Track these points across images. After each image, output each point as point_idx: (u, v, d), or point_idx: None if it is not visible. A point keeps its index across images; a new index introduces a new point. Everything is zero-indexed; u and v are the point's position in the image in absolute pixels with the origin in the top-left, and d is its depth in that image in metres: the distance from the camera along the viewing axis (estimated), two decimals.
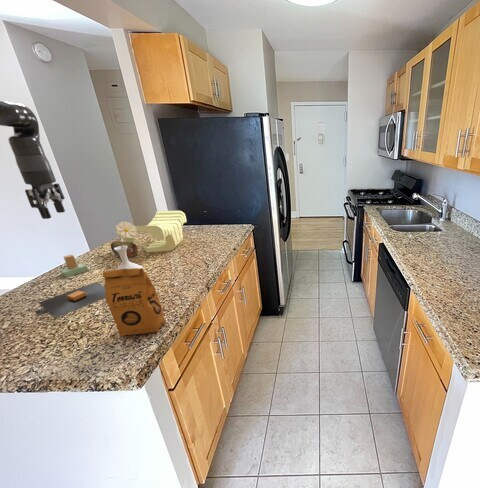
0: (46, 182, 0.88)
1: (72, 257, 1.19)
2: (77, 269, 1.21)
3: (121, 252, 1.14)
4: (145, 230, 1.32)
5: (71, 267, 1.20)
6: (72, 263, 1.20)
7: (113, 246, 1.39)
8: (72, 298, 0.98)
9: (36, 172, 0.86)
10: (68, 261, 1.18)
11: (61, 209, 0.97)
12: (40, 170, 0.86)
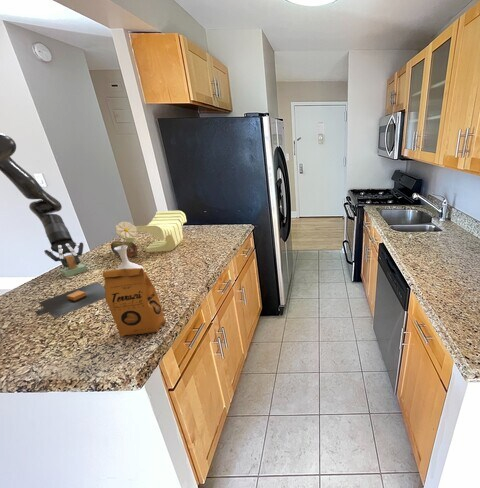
0: None
1: (72, 257, 1.19)
2: (77, 269, 1.21)
3: (121, 252, 1.14)
4: (145, 230, 1.32)
5: (71, 267, 1.20)
6: (72, 263, 1.20)
7: (113, 246, 1.39)
8: (72, 298, 0.98)
9: None
10: (68, 261, 1.18)
11: None
12: None
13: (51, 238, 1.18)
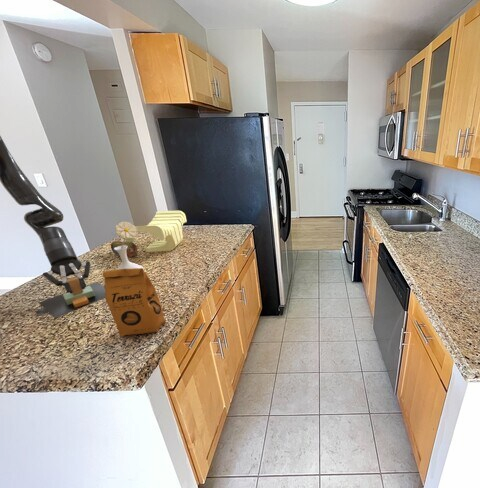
0: None
1: (76, 280, 0.96)
2: (82, 295, 0.98)
3: (121, 252, 1.14)
4: (145, 230, 1.32)
5: (75, 292, 0.97)
6: (76, 287, 0.97)
7: (113, 246, 1.39)
8: None
9: None
10: (71, 285, 0.96)
11: (71, 290, 0.96)
12: None
13: (51, 257, 0.95)
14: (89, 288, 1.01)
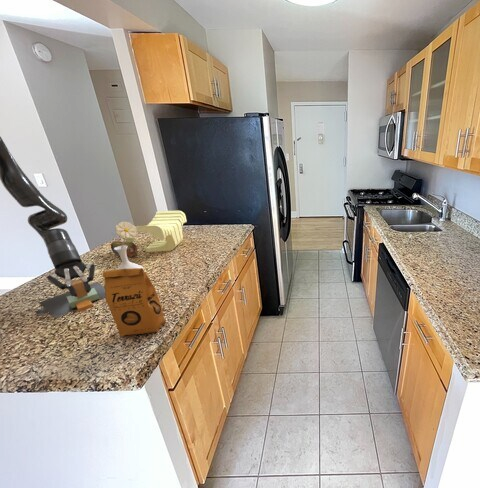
0: None
1: (81, 284, 0.94)
2: (86, 298, 0.96)
3: (121, 252, 1.14)
4: (145, 230, 1.32)
5: (79, 295, 0.95)
6: (81, 291, 0.95)
7: (113, 246, 1.39)
8: None
9: None
10: (76, 288, 0.94)
11: None
12: None
13: (55, 260, 0.93)
14: (93, 291, 0.99)
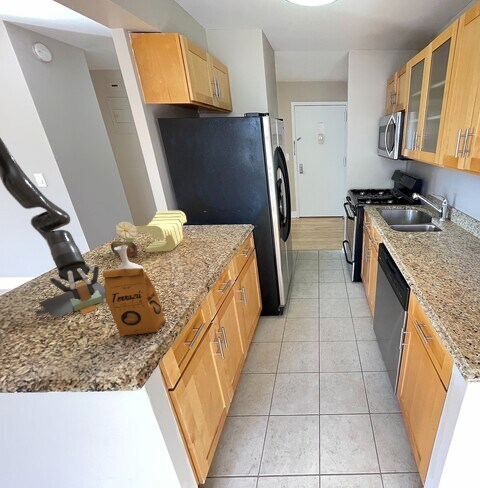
0: None
1: (85, 286, 0.93)
2: (90, 301, 0.95)
3: (121, 252, 1.14)
4: (145, 230, 1.32)
5: (83, 298, 0.93)
6: (84, 293, 0.93)
7: (113, 246, 1.39)
8: (82, 314, 0.91)
9: None
10: (79, 291, 0.92)
11: (79, 296, 0.92)
12: None
13: (59, 262, 0.91)
14: (97, 293, 0.98)
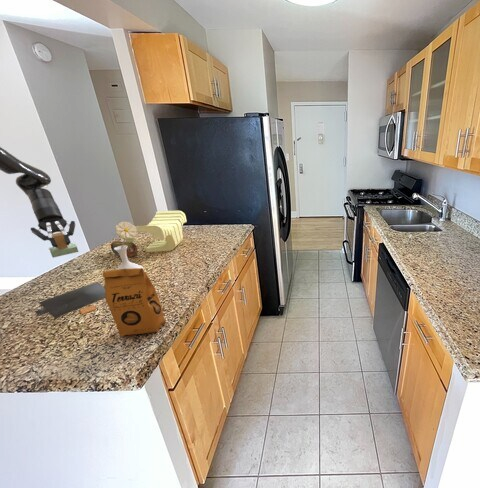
0: None
1: (61, 236, 1.06)
2: (66, 250, 1.08)
3: (121, 252, 1.14)
4: (145, 230, 1.32)
5: (60, 247, 1.07)
6: (61, 242, 1.07)
7: (113, 246, 1.39)
8: (82, 314, 0.91)
9: None
10: (56, 240, 1.05)
11: (56, 244, 1.06)
12: None
13: (38, 214, 1.05)
14: (73, 244, 1.11)
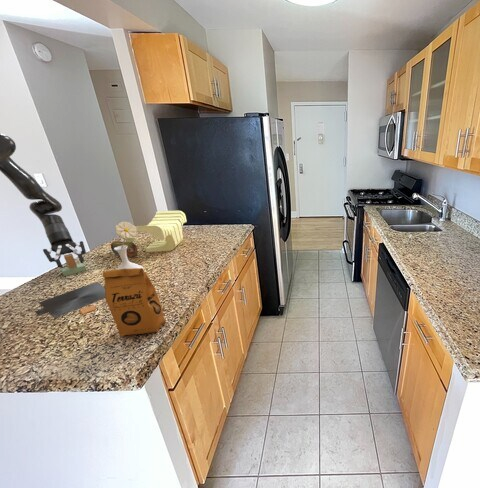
0: None
1: (71, 256, 1.20)
2: (76, 268, 1.21)
3: (121, 252, 1.14)
4: (145, 230, 1.32)
5: (70, 266, 1.20)
6: (71, 262, 1.20)
7: (113, 246, 1.39)
8: (82, 314, 0.91)
9: None
10: (67, 260, 1.19)
11: None
12: None
13: (51, 238, 1.18)
14: (82, 264, 1.24)
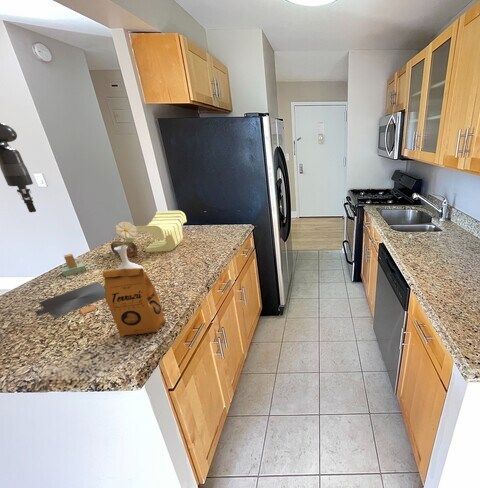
0: (30, 183, 1.15)
1: (71, 256, 1.20)
2: (76, 268, 1.21)
3: (121, 252, 1.14)
4: (145, 230, 1.32)
5: (70, 266, 1.20)
6: (71, 262, 1.20)
7: (113, 246, 1.39)
8: (82, 314, 0.91)
9: (23, 176, 1.12)
10: (67, 260, 1.19)
11: None
12: (25, 174, 1.13)
13: None
14: (82, 264, 1.24)
